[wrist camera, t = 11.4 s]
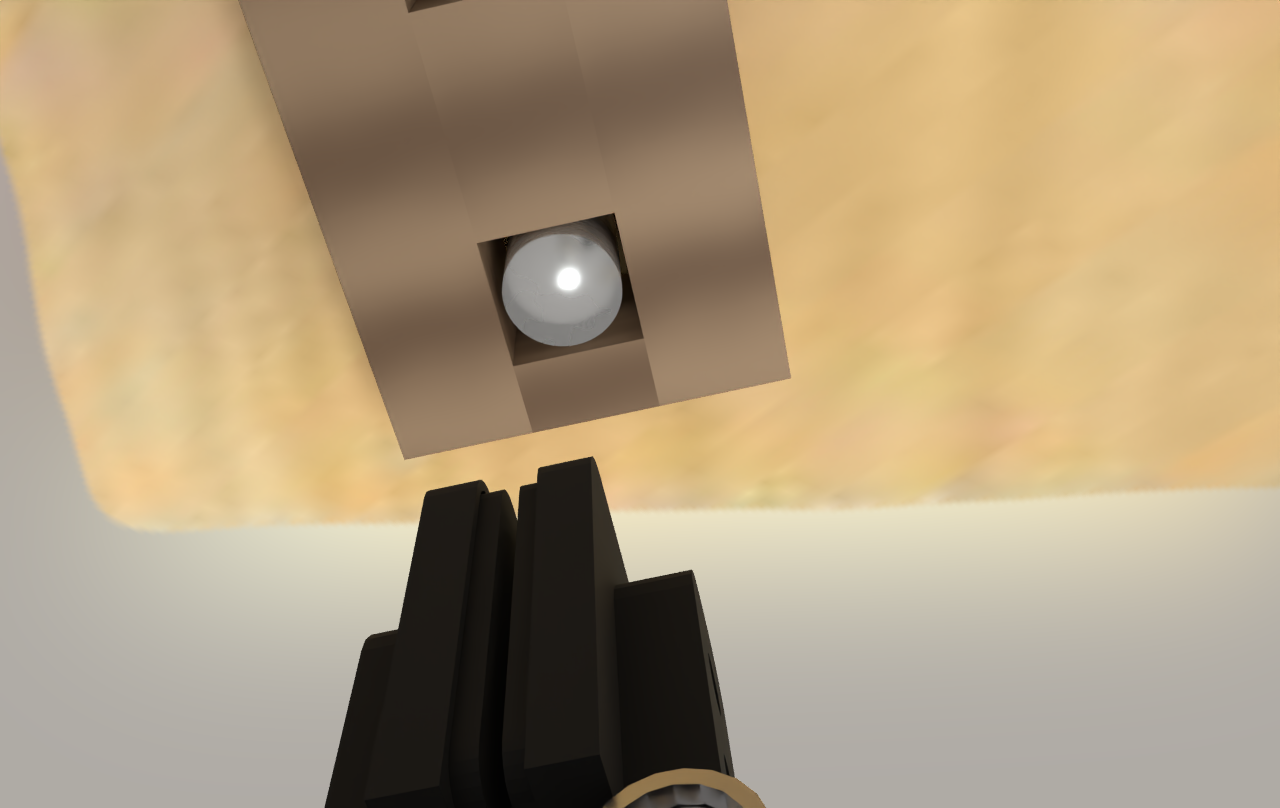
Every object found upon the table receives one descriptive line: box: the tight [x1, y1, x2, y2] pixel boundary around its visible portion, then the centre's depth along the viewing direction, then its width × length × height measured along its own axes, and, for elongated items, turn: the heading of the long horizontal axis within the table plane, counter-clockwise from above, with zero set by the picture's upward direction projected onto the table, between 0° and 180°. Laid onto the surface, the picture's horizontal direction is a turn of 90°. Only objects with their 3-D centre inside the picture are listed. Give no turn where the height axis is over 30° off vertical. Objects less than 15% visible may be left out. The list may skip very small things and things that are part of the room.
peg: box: [502, 214, 622, 346], centre depth 42 cm, size 4×4×6 cm
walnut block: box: [238, 0, 791, 460], centre depth 39 cm, size 22×14×6 cm, turn 12°
